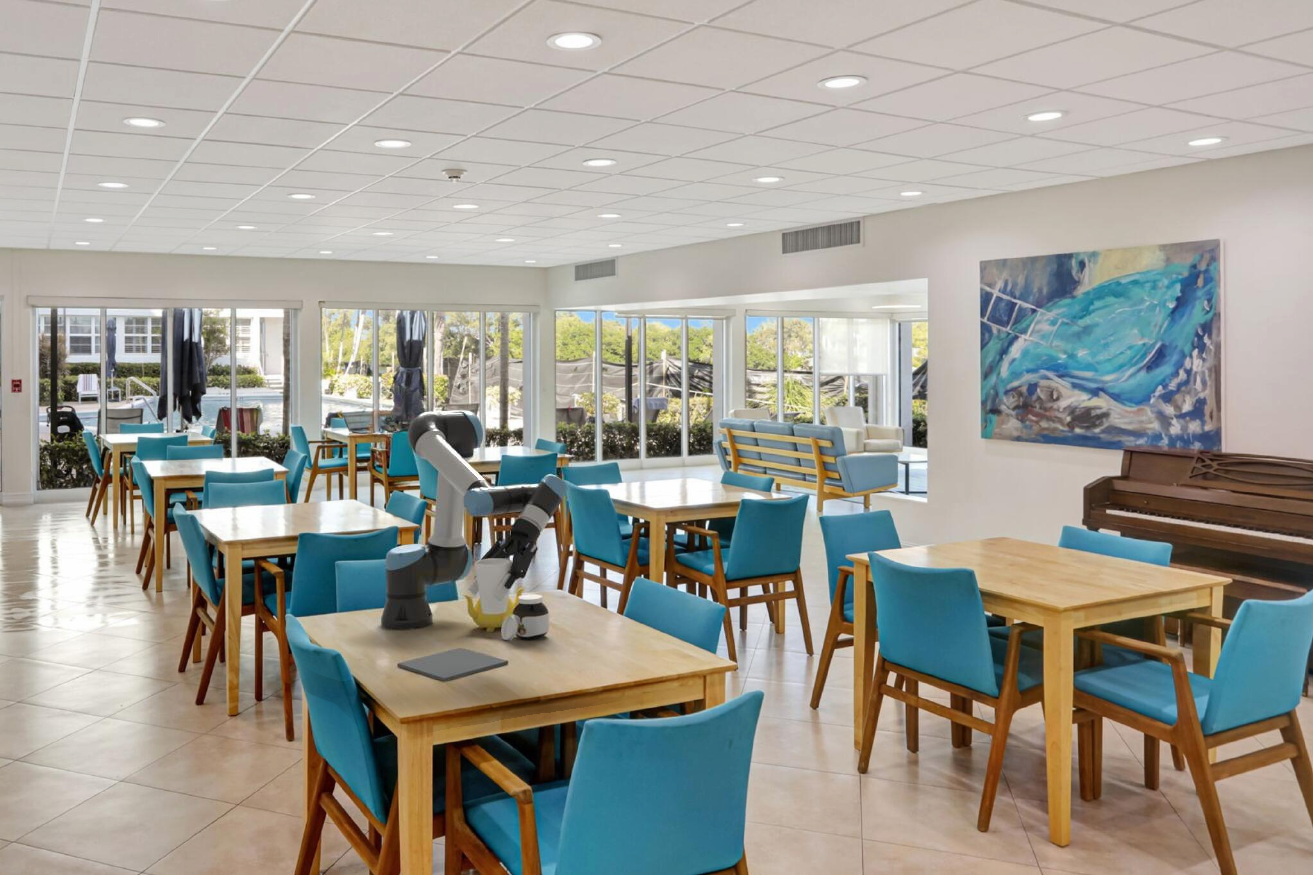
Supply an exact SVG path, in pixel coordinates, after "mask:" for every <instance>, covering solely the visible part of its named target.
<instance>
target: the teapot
mask: <svg viewBox="0 0 1313 875" xmlns="http://www.w3.org/2000/svg"><path fill="white" fill-rule="evenodd" d="M525 588H526V586H523V587H520V588H518V589H517V591H516V593H515V599H514V601H513V600H512V598H511V597H510V596H509V595H508V605H507V611H506V612H504V613H501V614H484V613H483V612H482V608H481V602H480V597H479V598H478V600H477V601H476V603H475V605H474V602H473V599H472V598H473V597H471V596H470V595H466V594H462V596H463V597H465V599H466V601H467V613H468V615H469V617H471V618H472V620H473V622H474V623H475V624H476V625H477V626H478V629H486V631H485V632H486V633H493V632H494V631H495V628H502V624H503V622H504V620H505V618H506V617H507V616H512V614H513V610H514V608H515V607H516V606H517V605H518V604H519V602H518V597H519V596H522V592H523V591H524V590H525Z"/></svg>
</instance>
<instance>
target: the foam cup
mask: <svg viewBox="0 0 1313 875" xmlns="http://www.w3.org/2000/svg"><path fill="white" fill-rule="evenodd" d="M511 566H512V560H511V559H509V558H505V559H504V558H491V559H483V560H481V559H479V560H475V562H474V573H475V576H476V577H477V583H478V589H479V591H478V595H479V598H480V602H481V608H482V612H483V613H484V614H501V613H504V612H506V611H507V605H508V596H509V593H510V589H509V590H508V591H507V593H506V595H505V596H504V598H503V599H502V601H499V600H498V599H497V598H496V597H495V596H494V593H495V592H496V590H497V588H498V587H499V585H500V584H501V582H502V581H503V579H504V577H505V576H506V574H509V575H511V574H510V573H509V572H508V571H511Z"/></svg>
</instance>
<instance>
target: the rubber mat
mask: <svg viewBox="0 0 1313 875" xmlns="http://www.w3.org/2000/svg"><path fill="white" fill-rule="evenodd" d="M505 665H509V660H506V659H503V658H499V657H495V656H492V655H488V654H484V653H482V652H477V651H474V650H470V649H466V648H463V647H458V648H454V649H450V650H449V649H448V650H445V651H442V652H437V653H434V654H433V653H432V654H429V655H426V656H422V657H418V658H413V659H409V660H405V661H402V662H397V667H398V668H402V669H405V670H408V671H411V672H414V673H417V674H420V675H423V676H427V677H428V678H429V677H430V678H431V679H436V680H439V681H442V682H446V681H452V680H455V679H457V678H462V677H465V676H468V675H473V674H476V673H481V672H483V671H487V670H491V669H494V668H498V667H502V666H505Z"/></svg>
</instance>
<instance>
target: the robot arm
mask: <svg viewBox="0 0 1313 875" xmlns="http://www.w3.org/2000/svg"><path fill="white" fill-rule="evenodd" d="M483 439H484V429H483V425H482V422H481V421H480V419H479V417H478V416H477V415H476V413H474V412H473V411H469V410H460V409H456V410H442V411H441V410H439V411H437V410H436V411H434V410H432V411H425V412H421V413H420V414H419V415H417V416H416V417H414V419H413V420H412V421H411V423H410V425H409V427H408V430H407V440H408V444H409V446H410V449H411V450H412V451H413V452H414V453H415V454H416V455H417V456H418V458H420V459H421V460H422V459H423V460H427V461H428V462H429V464H430V465H431V466H432V467H434V468H435V469H436V470H437V471H438V472H437V482H436V483H437V484H436V496H435V498H436V499H435V509H434V510H435V511H434V521H433V522H434V524H433V534H432V535H430V536H429V537H428V539H427V547H426V546H425V545H424V544H422V543H411V544H404V545H399V546H397V547H394V548H391V549H390V550H389V551H387V553H386V555H385V563H384V564H385V565H384V567H385V585H386V586H385V589H386V590H385V591H386V601H385V604H384V606H383V611H382V615H381V619H380V622H381V623H380V626H381V625H382V626H383V628H384V627H385V629H388V628H392V629H391V630H411V629H410V628H414V629H421V628H424V626H425V627H427V626H431V625H432V624H433V623H432V622H433V621H434V620H433V612H432V610H431V608H430V604H429V602H428V599H427V587H429V586H437V585H441V584H451V583H456V582H457V581H461V580H464V579H465V578H466V577H468V576H469V574H470V572H471V571H472V570H471V569H472V567H473V559H474V558H473V554H472V550H471V547H470V546H469V545H468V544H467V539H466V538H464V536H463V524H464V513H465V512H464V511H466V513H467V514H468V515H469V516H471V517H482V518H483V517H487V516H494V515H495V516H496V515H502V514H509V513H510V514H511V513H519V512H520V514H519V515H518V517H517V518H516V520H515V521H514V523H513V524H512V526H511V527H510V529H509V531H510V534H509V536H508V537H506V538H503V537H501V536H499V537H498V538H497V540H496V541H495V543H494V544H493V545H492V547H490V548H489V549H488V551H487V552H485V554H484V555H483V556H482V557H481V558H480V560H483V559H491V558H504V559H509V558H510V557H511V556H513V557H512V560H511V561H512V566H511V571H508V572H509V573H510V574H511V575H509V574H506V576H505V577H504V579H503V581H502V582H501V584H500V585H499V587H498V588H497V590H496V592H495V593H494V596H495V597H496V598H497V599H498V600H499V601H502V599H503V598H504V596H505V595H506V593H507V591H508V590H509V591H510V589H511V588H512V587H513V586H514V584H515V582H516V581H517V580H518V579H522V580H523V579H525V577H526V576H527V573H528V570H529V568H530V566H531V563H532V560H533V557H534V555H535V554H536V553H537V551H538V549H539V547H538V546H537V545H536V542H537V541H538V539H539V538H540V537H541V533H542V532H543V531H544V529H545V528H546V526H547V524H548V523H549V522H550V520H551V518H552V517H553V516H554V514H555V512H556V511H557V509H558V507H559V506H561V503H562V502H563V500H564V498H565V496H566V495H567V492H568V490H569V489H568V488H569V487H568V485H567V483H566V482H565V481H564V480H563V479H562V478H561V477H558V476H557V475H554V474H551V473H549V474H546V475H544V477H543V478H542V479H541V481H540V483H524V482H523V483H522V482H521V483H515V484H509V485H508V484H507V485H500V486H498V485H497V486H493V485H492V484H490V483H489V481H487V480H486V479H485V478H484V477H483V476H482V475H481V474H480V473H479V472H478V471H477V470H476V469H475V468H474V467H473V466H472V465H471V464H470V463H469V461H470V460H471V459H472V458H474V452H475V451H474V450H475V449H477V448H479V447H480V446H481V445H482V443H483ZM467 589H468V591H469V592H470V593H471V594H472V595H474V596H477V594H479V589H478V583H477V577H476V575H475V576H474V578H473V580H472V582H471V584H470V585H469V587H468V588H467ZM382 626H381V627H382Z"/></svg>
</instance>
